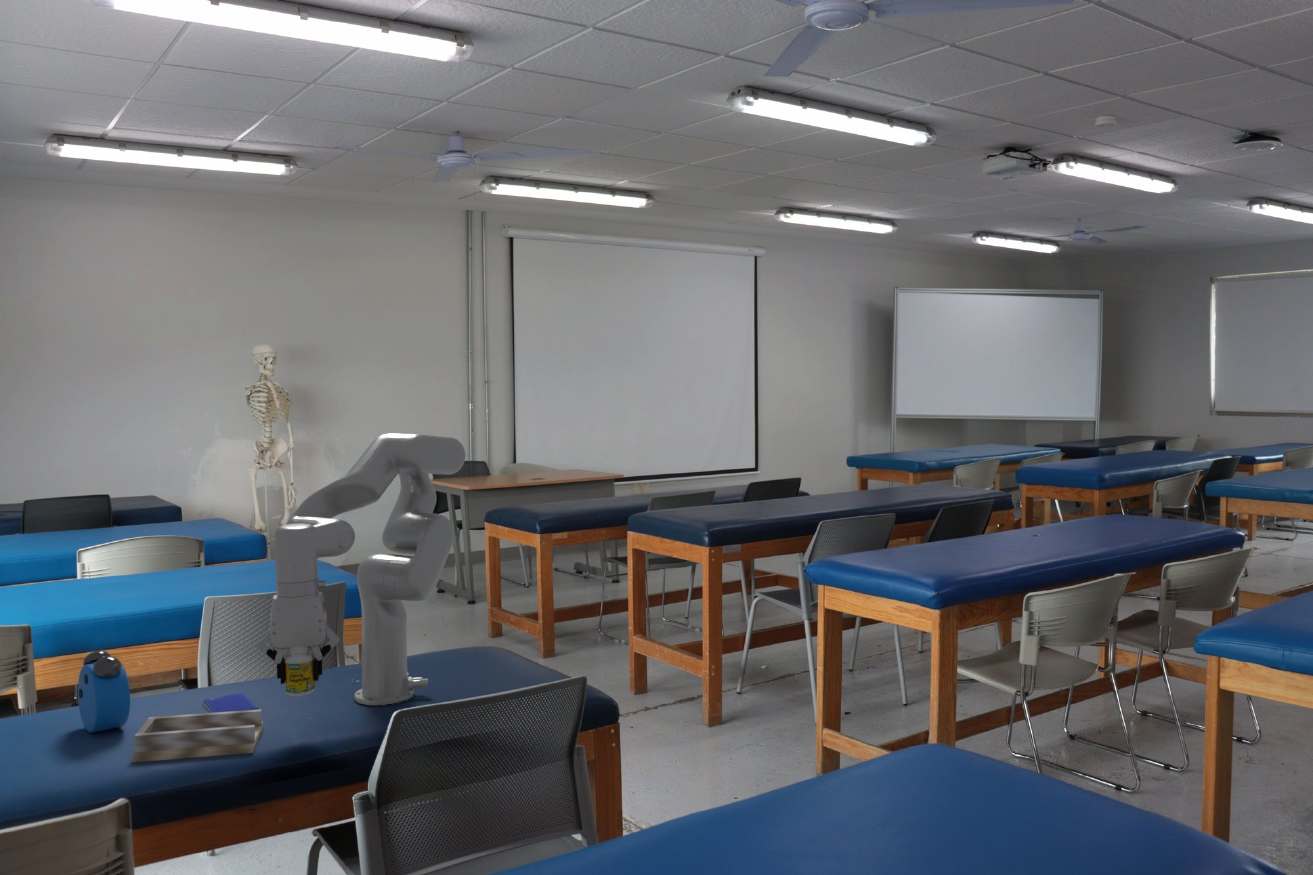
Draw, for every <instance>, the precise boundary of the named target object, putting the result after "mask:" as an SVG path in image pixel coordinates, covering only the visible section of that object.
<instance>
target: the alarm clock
mask: <svg viewBox="0 0 1313 875" xmlns="http://www.w3.org/2000/svg"><path fill="white" fill-rule="evenodd" d="M82 665H83V666H81V669H80V672H79V675H78V682H77V700H78V708H79V714H80V720H81V721H82V724H83V727H84V728H85V730H86V731H87V732H88V733H91V734H93V733H97V732H102V731H106V730H112V729H116V728H118V729H119V731H120V732H122V731H123V728H122V727H123V726H125V725H126V723H128V722H127V721H128V719H129V718H130V717H129V716H130V712H131V690H130V689H131V688H130V684H129V678H128V674H127V671H126V669H125V666H124V664H123V663H122V661H120V660H119V658H118V657H114V656H111V654H110V653H109V652H108V651H105V650H97V649H96V650H94V651H92V652H90V653H88V654H87V655H86V656H85V657H84V659H83V661H82Z"/></svg>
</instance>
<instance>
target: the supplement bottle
mask: <svg viewBox="0 0 1313 875" xmlns="http://www.w3.org/2000/svg"><path fill="white" fill-rule="evenodd" d="M287 652H288V654H287V655H286V656H285V657H284V659H285V693H286V694H287V695H288V696H290V697H303V696H307V695H310V694H313V693H314V692H315V690H316V681H315V680H314V658H315V654H314V653H313V652H311V647H293V648H287Z"/></svg>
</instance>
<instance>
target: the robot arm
mask: <svg viewBox="0 0 1313 875" xmlns="http://www.w3.org/2000/svg"><path fill="white" fill-rule="evenodd" d="M465 461H466V449H465V448H464V445H463V444H462V442H461V441H460V440H459V439H458V438H455V437H451V436H436V435H427V434H421V433H401V432H400V433H397V432H394V433H393V432H392V433H384V434H381V435H379V436H377V437H375V439H374V440H372V442H371V443H370V445H368V446H367V448H366V449H365V451H364V452H363V453H362V455H361V456H360V457H359V458H358V460H356V461H355V463H354V464H353V465H352V467H351V468H350V469H349V471H347V472H346V474H345V475H344V476H342V477H340V478H338V479H336V480H334V481H332V482H330V483H329V484H328V485H326V486H323V487H322V488H320V489H319V490H317V491H315V492H314V493H313V492H312V494H311V495H309V496H307V498H305V499H304V500H303V501H302V502H301V503H300V505H299V506H298V507H297V508H296V509H295V511H294V512H293V513H292V515H290V517H289V518H288V520H287V522H286V523H285V524H283V525H280V526H278V527H277V528H276V529H275V532H274V554H275V555H274V556H275V558H274V559H275V583H276V584H275V585H276V586H275V587H276V591H275V592H276V594H274V595H273V597H272V601H271V609H270V619H269V620H270V624H269V630H268V631H267V633H265V634H264V636H263V637H262V638H261V640H260V641H259V642H258V643H257V645H256V647H257V649H258V650H260V651H261V652H262V653H264V654H266V656H268V657H269V658H270V659H272V660H273V661H274V663H275V665H276V677H277V678H276V679H278V680H279V679H280V685H284V684H286V681H285V657H284V655H285V652H286V649H287V650H288V648H293V647H310V648H311V649H312V651H313V652H312V653H313V655H314V680H315V682H318V681H319V678H320V676H323V658H324V657H325V656H326V655H327V654H328V653H329V652H330V651H331V650H332V649H333V648H334V647H335V646H337V645H338V644H339V643H340V639H341V637H340V636H339V635H338V634H337V633H336V632H335V631H334V630H333V629H331V627H329V626H328V624H327V623H328V622H327V611H326V609H327V608H326V603H325V602H326V601H325V598H324V594H323V591H320V590H321V589H323V588H327V582H326V580H322V579H319V572H318V569H319V568H318V559H319V558H331V557H332V558H334V557H339V556H342V555H345V553H347V552H348V551H349V550H351V548H352V547H353V545H354V542H355V540H356V532H355V530H354V528H353V526H352V525H351V524H350V523H349V522H347V521H346V520H343V519H340V518H335V517H337V516H338V515H342V514H345V513H348V512H351V511H355V510H358V509H362V508H364V507H367V506H370V505H372V504H374V503H376V502H379V500H380V499H381V498H382V496H383V494H384V493H385V491H387V489H388V488H389V487H390V485H391V484H392V482H393V481H394V480H395V478H396V477H397V476H398V477H399V482H400V490H399V493H398V496H397V499H396V502H395V504H394V506H393V509H392V510H391V513H390V515H389V517H388V519H387V522H386V524H385V527H384V529H383V532H382V537H381V538H382V540H381V542H382V545H383V546H384V548H385V549H386V550H388V551H390V552H393V554H391V553H376V554H371V555H369V556H366V557H365V558H363V560H362V561H361V563H360V564H359V565H358V568H357V572H356V582H357V584H356V585H357V588H358V592H359V598H360V603H361V604H360V605H361V688H360V689H358V690H357V691H355V693H354V697H353V698H354V701H355V702H356V703H358V704H361V705H366V706H372V707H373V706H377V707H379V705H381V706H387V705H386V704H392V703H395V702H399V701H402V700H405V699H407V698H409V697H411V696H412V695H413V694H414V695H415V689H425V688H426V689H427V688H429V678H423V677H422V676H421V677H412V676H409V671H408V615H407V611H406V607H405V606H404V603H403V601H409V602H421V601H425V600H426V599H427V598H429V597H431V595H432V594H433V592H434V590H435V588H436V587H437V584H438V582H439V579H440V577H441V574H442V572H443V570H444V567H445V565H446V562H447V559H448V557H449V554H450V552H451V549H452V546H453V542H454V530H453V529H454V528H453V525H452V523H451V521H450V519H449V518H448V517H446V516H444V515H443V514H440V513H434V510H435V506H436V504H437V492H436V488H435V486H434V485H433V483H432V480H431V478H430V476H429V475H449V476H450V475H453V474H454V475H455V474H456V473H458V472H459V471H460V470H461V469H462V467H463V466H464V464H465ZM394 553H396V554H394ZM326 638H328V639H329V641H328V642H326ZM268 643H269V644H270V645H269V644H268ZM323 644H325V645H324V646H322V645H323ZM276 649H277V650H276ZM392 705H393V704H392Z"/></svg>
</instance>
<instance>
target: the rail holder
mask: <svg viewBox="0 0 1313 875" xmlns="http://www.w3.org/2000/svg"><path fill="white" fill-rule="evenodd" d="M263 728H264V721H263V709H259V710H245V711H230V712H216V713H210V712H204V713H203V712H202V713H191V714H178V715H177V714H176V715H175V714H173V715H164V716H163V715H161V716H150V717H148V718H147V720H146V721H145V722H144V723H143V725H142V726H141V727H140V729H139V730H138V731H137V732H136V733H135V735H134V752H133V754H132V756H131V763H143V762H154V761H155V762H156V761H167V760H180V759H181V760H182V759H190V758H193V759H194V758H205V757H217V756H228V755H230V756H231V755H241V754H243V755H244V754H253V753H254V750H255V748H256V746H257V743H258V741H259V739H260V735H261V734H262V731H263V730H264V729H263Z"/></svg>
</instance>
